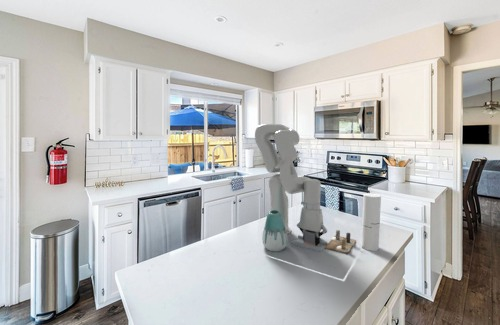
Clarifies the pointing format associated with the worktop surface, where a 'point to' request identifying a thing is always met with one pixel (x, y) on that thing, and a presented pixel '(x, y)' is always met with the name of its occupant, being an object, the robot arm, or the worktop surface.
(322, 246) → the chute
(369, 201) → the cylindrical container
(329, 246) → the pin board
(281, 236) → the vase
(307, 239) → the sleeve
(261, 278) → the worktop surface
